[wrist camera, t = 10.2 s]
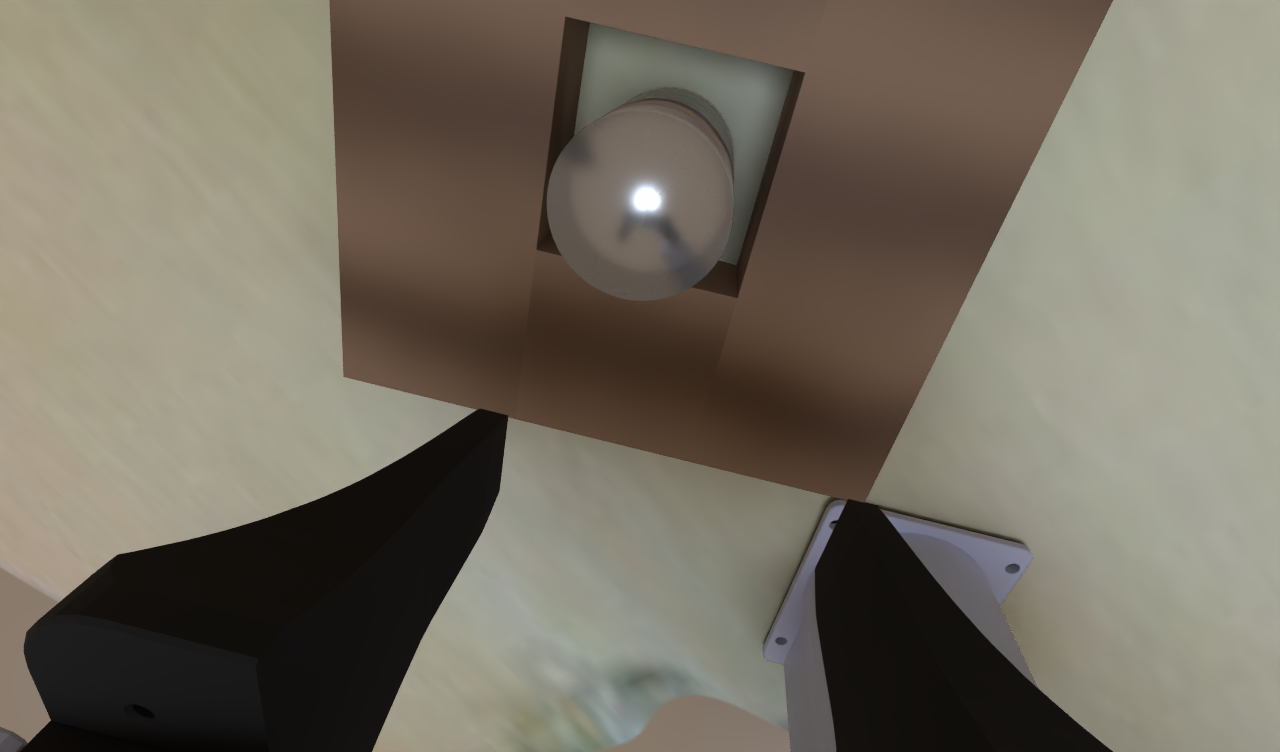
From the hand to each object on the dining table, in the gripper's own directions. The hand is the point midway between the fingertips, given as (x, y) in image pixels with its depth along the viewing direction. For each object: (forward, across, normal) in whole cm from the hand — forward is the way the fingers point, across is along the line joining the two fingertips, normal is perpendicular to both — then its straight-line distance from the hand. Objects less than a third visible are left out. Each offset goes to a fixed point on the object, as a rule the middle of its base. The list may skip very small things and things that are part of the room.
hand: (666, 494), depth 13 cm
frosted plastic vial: (+10, +2, -5) cm, 11 cm away
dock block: (+10, +2, -5) cm, 11 cm away
